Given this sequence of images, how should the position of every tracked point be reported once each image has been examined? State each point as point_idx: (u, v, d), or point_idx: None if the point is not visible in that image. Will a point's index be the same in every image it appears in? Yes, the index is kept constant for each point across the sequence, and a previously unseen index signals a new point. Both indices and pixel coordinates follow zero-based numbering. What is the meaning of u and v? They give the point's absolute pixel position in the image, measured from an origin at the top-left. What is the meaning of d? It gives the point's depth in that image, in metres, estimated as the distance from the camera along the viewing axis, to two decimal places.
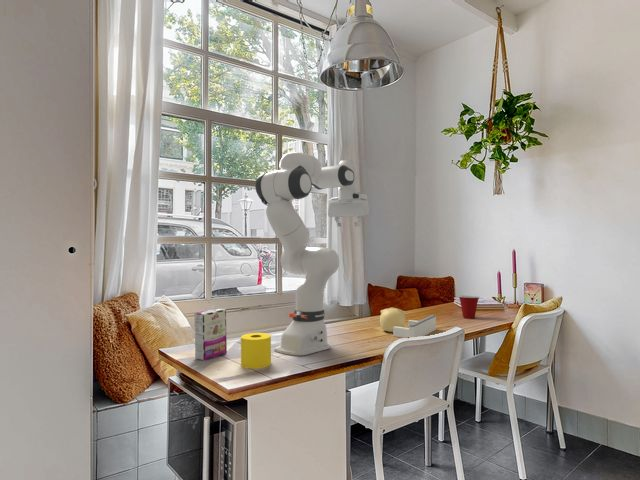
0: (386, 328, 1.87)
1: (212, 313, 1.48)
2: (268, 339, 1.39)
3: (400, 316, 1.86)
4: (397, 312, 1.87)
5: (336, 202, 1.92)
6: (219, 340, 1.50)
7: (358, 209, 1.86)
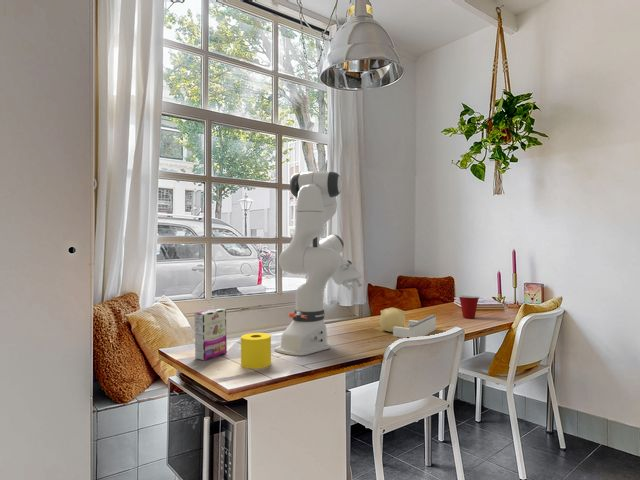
0: (386, 328, 1.87)
1: (212, 313, 1.48)
2: (268, 339, 1.39)
3: (400, 316, 1.86)
4: (397, 312, 1.87)
5: (338, 269, 2.01)
6: (219, 340, 1.50)
7: (355, 272, 2.09)
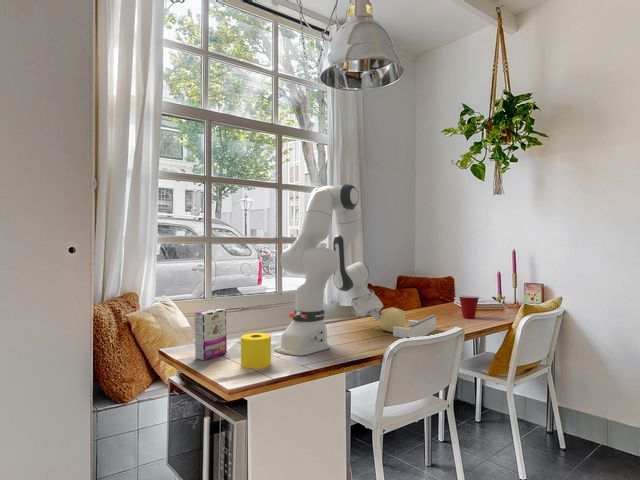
0: (386, 328, 1.86)
1: (212, 313, 1.48)
2: (268, 339, 1.39)
3: (400, 316, 1.86)
4: (397, 312, 1.87)
5: (361, 299, 1.94)
6: (219, 340, 1.50)
7: (377, 302, 2.02)
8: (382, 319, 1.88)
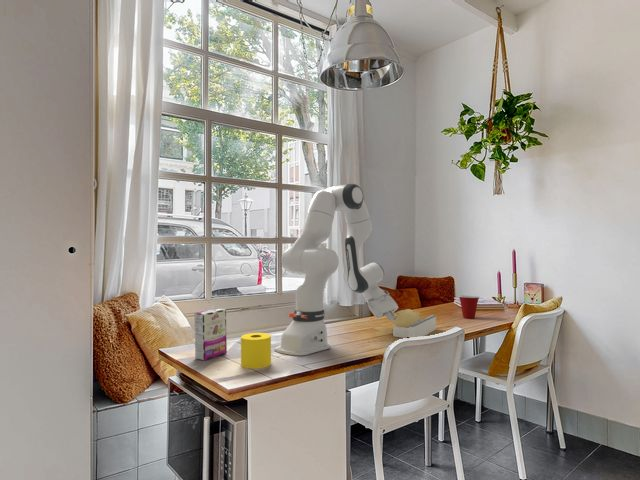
0: None
1: (212, 313, 1.48)
2: (268, 339, 1.39)
3: (415, 318, 1.81)
4: (412, 314, 1.82)
5: (377, 300, 1.90)
6: (219, 340, 1.50)
7: (392, 303, 1.98)
8: (396, 321, 1.84)
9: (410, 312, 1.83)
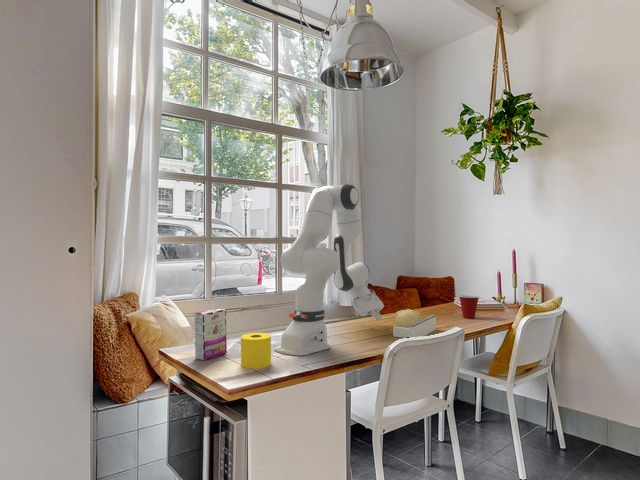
0: None
1: (212, 313, 1.48)
2: (268, 339, 1.39)
3: (415, 318, 1.81)
4: (412, 314, 1.82)
5: (362, 299, 1.94)
6: (219, 340, 1.50)
7: (377, 302, 2.02)
8: (396, 321, 1.84)
9: (410, 312, 1.84)
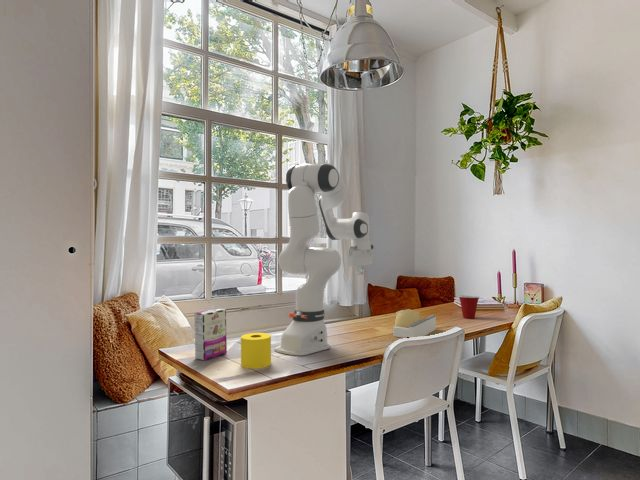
0: None
1: (212, 313, 1.48)
2: (268, 339, 1.39)
3: (415, 318, 1.81)
4: (412, 314, 1.82)
5: (358, 251, 1.94)
6: (219, 340, 1.50)
7: (369, 258, 2.03)
8: (396, 321, 1.84)
9: (410, 312, 1.84)
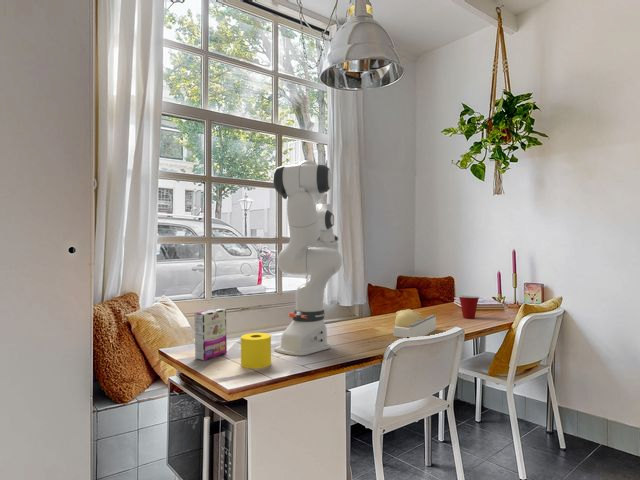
0: None
1: (212, 313, 1.48)
2: (268, 339, 1.39)
3: (415, 318, 1.81)
4: (412, 314, 1.82)
5: (321, 243, 1.94)
6: (219, 340, 1.50)
7: None
8: (396, 321, 1.84)
9: (410, 312, 1.84)
